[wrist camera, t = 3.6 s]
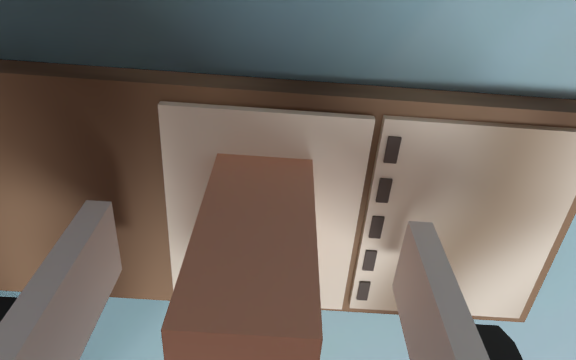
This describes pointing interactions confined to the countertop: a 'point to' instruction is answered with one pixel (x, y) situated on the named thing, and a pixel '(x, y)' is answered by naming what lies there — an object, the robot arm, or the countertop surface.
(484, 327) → the robot arm
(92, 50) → the countertop surface
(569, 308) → the countertop surface
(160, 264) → the board
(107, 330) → the countertop surface
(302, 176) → the stub
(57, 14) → the countertop surface
